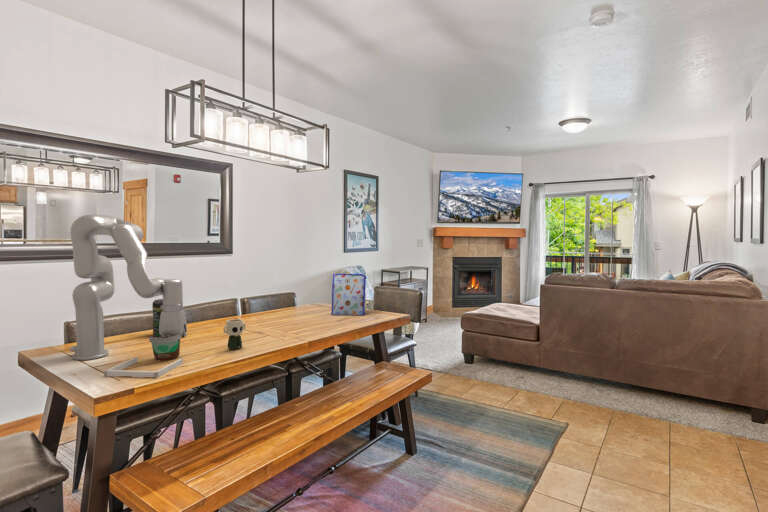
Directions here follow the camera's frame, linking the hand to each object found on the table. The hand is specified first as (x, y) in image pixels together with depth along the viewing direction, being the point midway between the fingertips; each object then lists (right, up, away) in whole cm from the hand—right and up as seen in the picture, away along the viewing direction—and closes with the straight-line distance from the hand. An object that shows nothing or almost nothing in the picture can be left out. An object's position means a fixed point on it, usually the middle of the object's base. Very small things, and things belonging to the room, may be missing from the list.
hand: (173, 350), depth 180 cm
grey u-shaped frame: (-2, -3, -18) cm, 18 cm away
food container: (0, -2, -5) cm, 6 cm away
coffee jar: (-24, -1, +36) cm, 43 cm away
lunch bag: (+67, +2, +100) cm, 120 cm away
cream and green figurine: (+22, -2, +12) cm, 25 cm away
